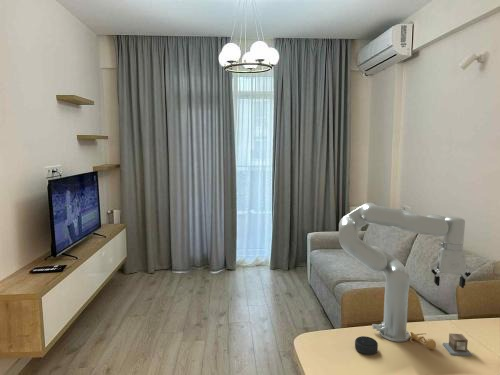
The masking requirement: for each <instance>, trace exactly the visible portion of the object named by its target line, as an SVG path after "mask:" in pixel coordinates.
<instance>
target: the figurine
mask: <svg viewBox="0 0 500 375" xmlns="http://www.w3.org/2000/svg"><path fill="white" fill-rule="evenodd" d="M409 334H410V339H409V342H411V344H414V341H413V340H416V341H418V342H419V341H420V342H421V343H422V344H425V346H426V347H427V349H429V350H434V349H436V347H437V342H436V341H435V339H432V338H427V339H426V338H425V337H424V336H423V335H427V333H425V332H424V333H423V332H422V333H414V332H412V331H411V332H410V333H409ZM421 335H422V336H421Z"/></svg>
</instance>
